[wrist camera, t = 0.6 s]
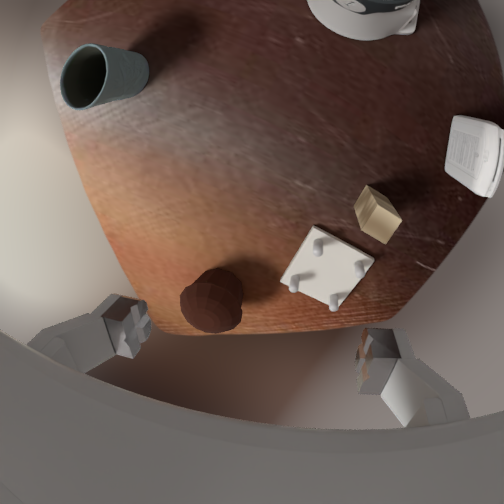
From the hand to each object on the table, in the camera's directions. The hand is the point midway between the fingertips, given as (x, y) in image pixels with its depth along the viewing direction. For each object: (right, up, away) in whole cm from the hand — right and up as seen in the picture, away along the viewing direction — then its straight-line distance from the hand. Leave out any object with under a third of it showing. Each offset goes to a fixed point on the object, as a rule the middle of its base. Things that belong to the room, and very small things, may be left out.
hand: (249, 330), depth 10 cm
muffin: (-6, -4, +46) cm, 46 cm away
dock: (+13, 0, +39) cm, 41 cm away
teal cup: (-21, +33, +28) cm, 48 cm away
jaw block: (+18, +11, +31) cm, 38 cm away
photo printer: (+32, +19, +23) cm, 44 cm away
